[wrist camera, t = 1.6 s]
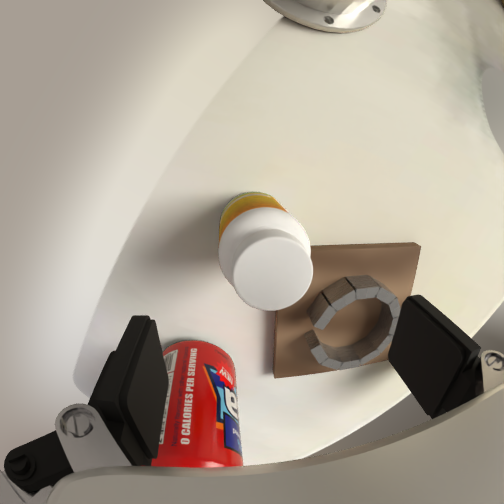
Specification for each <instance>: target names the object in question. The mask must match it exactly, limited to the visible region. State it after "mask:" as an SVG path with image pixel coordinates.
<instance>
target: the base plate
mask: <svg viewBox="0 0 504 504" xmlns="http://www.w3.org/2000/svg"><path fill="white" fill-rule="evenodd" d="M310 247H311V255H310V258H311V261H312V265H313V277H312V281H311V284H310V286H309V288H308V290H307V291H306V293H305V294H304V295H303V297H302V298H301V299H299V300H298V301H297V302H296V303H294V304H293V305H291V306H289V307H286V308H283V309H280V310H276V315H275V337H274V357H273V374H274V378H283V377H292V376H301V375H308V374H316V373H322V372H329V371H335V369H332V368H329V367H326V366H322V365H320V364H319V363H318V361H317V360H316V358H315V357H314V355H313V354H312V352H311V350H310V348H309V346H308V343H307V341H306V338H305V336H304V334H305V333H307V332H309V331H310V330H312V329H313V330H314V331H315V333H316V335H317V336H318V338H319V340H320V341H321V342H322V343H324V344H327V345H330V346H332V347H341V346H347V345H352V344H354V343H355V342H357V341H359V340H360V339H362V338H364V337H365V336H367V335H368V333H369V332H370V331H371V330H372V328H373V327H374V326H375V325H376V323H377V322H378V319H379V315H380V311H381V307H382V305H381V302H380V300H379V299H378V298H376V297H375V298H367V299H358V300H355V301H353V302H352V303H350V304H349V305H347V306H345V307H344V308H342V309H340V310H339V311H337V312H336V313H335V315H334V316H333V317H332V319H331V320H330V321H329V323H328V324H327V325H326V327H325V328H324V329H323V330H321V329H319V328H316V327H314V326H313V324H312V322H311V320H310V318H309V316H308V314H307V312H306V311H307V309H308V308H309V307H310V305H311V304H312V302H313V301H314V300H315V298H316V297H317V295H318V294H319V293H320V292H322V293H323V291H322V290H323V289H324V288H326V287H328V286H329V285H331V284H333V283H334V282H336V281H338V280H339V279H341V278H343V277H344V278H345V277H346V276H358V275H368V276H369V275H370V276H371V277H373V278H375V279H376V280H378V281H379V282H381V283H383V284H384V285H385V286H386V287H387V288H388V289H389V290H390V291H392V292H393V293H394V294H395V295H396V297H397V298H398V301H399V305H400V309H401V306H402V303H403V301H405V299H406V298H407V297H408V296H410V295H411V291H412V287H413V283H414V278H415V274H416V269H417V265H418V260H419V255H420V249H421V246H419V245H418V244H416V243H414V242H412V243H380V244H350V245H321V246H310ZM391 342H392V341H391ZM391 342H390V343H389V345H388V346H387V347H386V348H385V350H384V351H383V352H382V353H380V352H379V353H380V355H378V356H377V357H375V358H373V359H372V360H370V361H368V362H367V363H365V364H363V365H367V364H372V363H376V362H381V361H385V360H389V359H388V352H389V349H390V346H391ZM360 366H361V365H360ZM338 370H339V369H338Z"/></svg>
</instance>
